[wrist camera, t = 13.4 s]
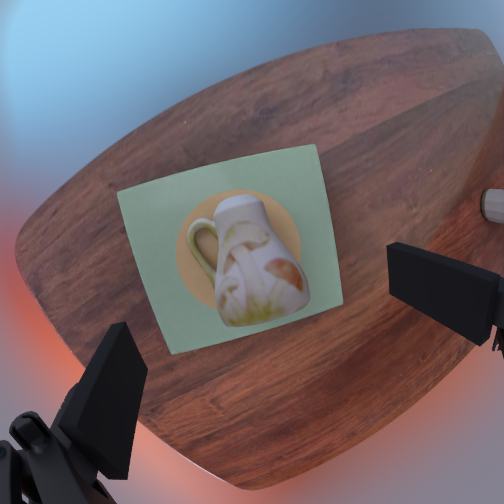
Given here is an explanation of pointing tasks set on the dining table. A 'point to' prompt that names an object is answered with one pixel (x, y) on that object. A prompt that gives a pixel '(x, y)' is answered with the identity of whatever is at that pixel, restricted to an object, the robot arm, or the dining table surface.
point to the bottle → (493, 205)
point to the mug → (250, 265)
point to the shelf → (186, 266)
